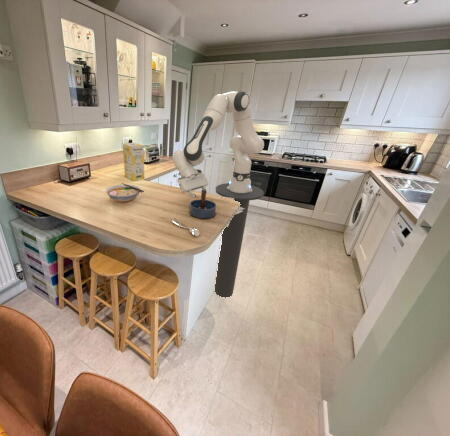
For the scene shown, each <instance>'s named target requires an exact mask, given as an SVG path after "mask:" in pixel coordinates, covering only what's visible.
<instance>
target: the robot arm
mask: <svg viewBox="0 0 450 436" xmlns="http://www.w3.org/2000/svg"><path fill="white" fill-rule="evenodd" d="M226 113H230V114H231V113H232V118H233V125H234V130H235V132H236V133H237V134H236V135H233V136H232V137H231V138H230V140H229V147H230V149H231V151H232V152H233V155H234V169H233V172H232V177H231V178H230V179H229V182H228V183H230V184H229V186H228V187H227V188H226V189H229V190H230V191H232V192H236V193H248V192H252V188H251V185H252V179H251V168H252V160H251V158H250V157H249V155H248V154H250V155H259V154H261V152H262V151H263V150H264V147H265V142H264V139H262V138H261V137H260V135H259V134H258V133H257V131H256V129H255V127H254V123H253V115H252V108H251V105H250V95H249V94H248V93H247V92H246V91H244V90H243V91H242V90H239V91H229V92H223V93H222V92H221V93H217V94H215V95H214V96H213V98H212V99H211V100H210V102H209V103H208V105H207V107H206V109H205V112H204V114H203V116H202V118H201V120H200V123H199V125H198V127H197V128H196V130H195V132H194V134H193V136H192V137H191V138H190V140H189V141H188V142H187V143H186V144H185V146H183V147H184V148H183V149H181V148H180V149H177V150H176V151H174V153H173V154H172V162H173V164H174V166H175V168H176V170H177V171H178V172H179V175H180V177H178V178H177V180H176V181H177V184H178V187H179V189H180V191H181V193H183V194H186V193H187V194H188V195H189V196H190V197H192V198H193V199H194V198H196V197H197V195H196V193H194V191H196V190H199V189H201V190H202V189H206V194H207V193H208V191H207V186H208V185H209V180H208V178H207V177H206V175H205V174H204V173H203V170H202V169H200V168H199V169H198V168H195V167H196V166H198V165H200V164H202V163H203V162H204V159H205V153H204V151H203V144H204V142H205V140H206V138H207V136H208V134H209V132H210V131H214V130H216V129H218V128H219V127H220V125H221V123H222V121H223V120H224V117H225V115H226Z"/></svg>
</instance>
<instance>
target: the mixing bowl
mask: <svg viewBox="0 0 450 436" xmlns="http://www.w3.org/2000/svg"><path fill="white" fill-rule="evenodd" d="M200 206H201V198H200V199H193V200H191V201H190V202H189V215H191V216H193V217H194V218H198V219H210V218H213V217H215V216H216V214H217V213H216V212H217V203H215V202H214V201H213V200H208V199H206V200H205V207H206V209H199V207H200Z"/></svg>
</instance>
